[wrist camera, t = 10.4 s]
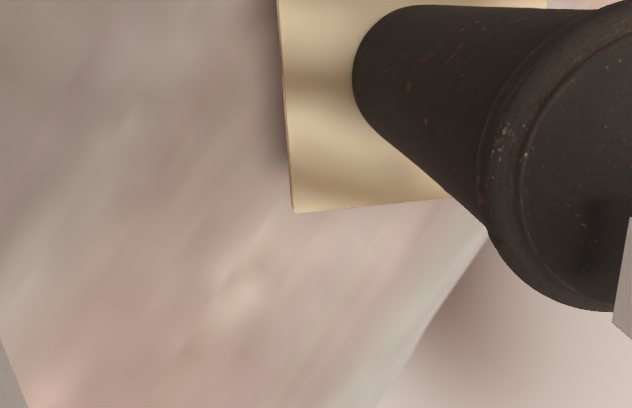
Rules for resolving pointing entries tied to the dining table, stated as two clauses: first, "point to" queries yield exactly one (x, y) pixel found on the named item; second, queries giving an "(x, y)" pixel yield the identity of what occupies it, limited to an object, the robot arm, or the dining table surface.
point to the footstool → (343, 108)
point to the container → (516, 129)
